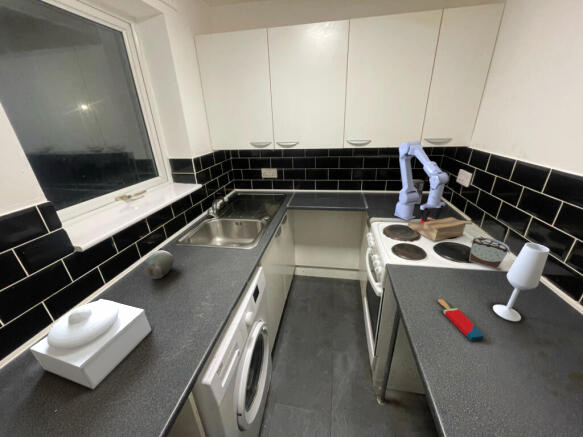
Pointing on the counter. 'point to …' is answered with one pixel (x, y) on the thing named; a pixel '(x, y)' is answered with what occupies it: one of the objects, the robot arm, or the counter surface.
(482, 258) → the food container
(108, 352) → the butter dish
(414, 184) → the coffee box
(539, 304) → the counter surface
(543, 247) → the white wine glass
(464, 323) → the popsicle
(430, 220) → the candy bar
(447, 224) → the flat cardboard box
